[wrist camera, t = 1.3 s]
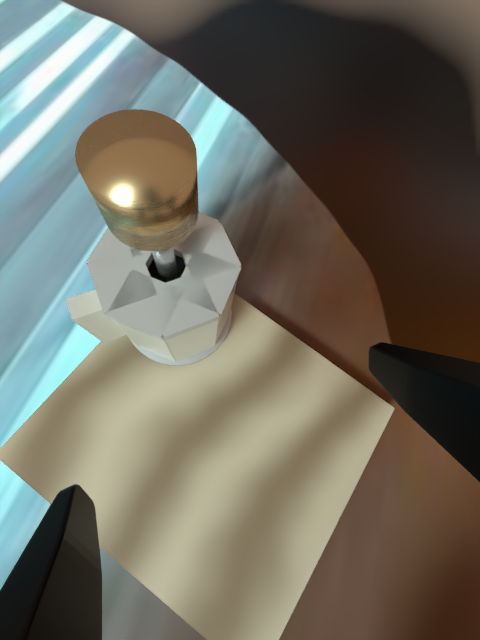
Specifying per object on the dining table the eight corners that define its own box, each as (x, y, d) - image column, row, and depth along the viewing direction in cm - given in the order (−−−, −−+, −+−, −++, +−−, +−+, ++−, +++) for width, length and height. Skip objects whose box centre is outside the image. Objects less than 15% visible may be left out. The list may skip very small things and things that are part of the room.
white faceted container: (208, 255, 24) (209, 184, 17) (247, 341, 22) (267, 304, 15) (92, 293, 22) (36, 232, 15) (125, 391, 20) (80, 378, 13)
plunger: (195, 239, 19) (185, 81, 10) (225, 307, 17) (245, 195, 9) (118, 264, 17) (30, 110, 9) (145, 337, 16) (75, 245, 8)
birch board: (386, 408, 23) (394, 408, 22) (254, 668, 17) (257, 683, 16) (183, 261, 25) (182, 255, 24) (4, 452, 19) (-6, 454, 18)
